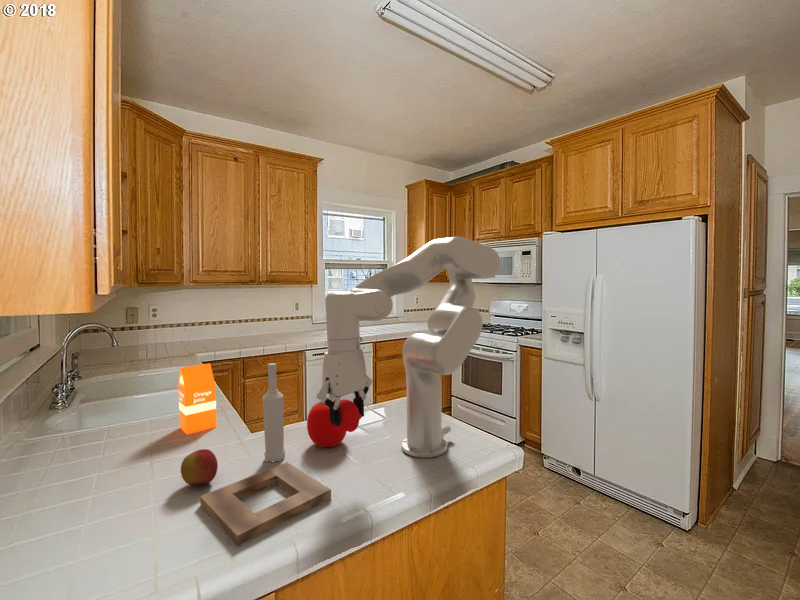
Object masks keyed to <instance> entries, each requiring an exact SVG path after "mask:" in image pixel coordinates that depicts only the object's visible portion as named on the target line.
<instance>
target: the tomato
mask: <svg viewBox="0 0 800 600" xmlns="http://www.w3.org/2000/svg"><path fill="white" fill-rule="evenodd" d="M333 402H334V400H333ZM310 408H311V409H310V410H309V413H308V416H307V420H306V430H307V433H308V434H307V435H308V436H309V439H310V440H311V441H312V443H314V444H315V445H317V446H318V447H323V448H330V447H334V446H337V445H339V444H341V443H342V442H343V441H344V439H345V437H346V435H347V432H348V431H347V430H346V429H345V428H344V426H343V422H341V425H340V426H335V425H334V424H331V422H330V413H329V407H327V406H326V405H325V404H324V403H323V402H322V401H318V402H317V403H315V404H314V405H313V406H312V407H310Z"/></svg>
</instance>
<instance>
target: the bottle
mask: <svg viewBox="0 0 800 600" xmlns="http://www.w3.org/2000/svg"><path fill="white" fill-rule="evenodd" d="M267 373H268V389H267V392H266V393H265V394H264V395H263V396H262V409H263V410H262V412H263V413H262V414H263V426H264V427H263V428H264V449H265V451H264V459H265V461H266V460H267V461H271V462H272V461H279V460H281V459H283V458H284V459H285V457H286V450H285V442H284V441H285V437H284V436H285V433H284V432H285V431H284V429H285V428H284V427H285V426H284V425H285V423H284V420H285V419H284V414H285V413H284V394H282V393H281V392H280V391H279V389H278V388H277V384H278V383H277V363H275V362H274V363H273V362H272V363H271V362H270V363H268V364H267ZM284 459H283V460H284ZM267 461H266V462H267ZM281 461H282V460H281ZM279 462H280V461H279Z"/></svg>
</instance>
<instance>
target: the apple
mask: <svg viewBox="0 0 800 600" xmlns="http://www.w3.org/2000/svg"><path fill="white" fill-rule="evenodd" d="M218 464H219V463H218V458H217V457H216V455H215V453H214V452H213V451H211V450H210V449H207V448H205V449H204V448H203V449H198V450H195V451H193V452H191V453H189V454H188V455H186V456H185V457H184V459H183V460H182V462H181V465H180V475H181V477H182V480H183V481H184V483H185V484H187V485H190V486H199V485H205V484H208V483H210V482H212V481H213V480H214V479H215V477H216V475H217V472H218Z"/></svg>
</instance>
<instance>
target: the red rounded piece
mask: <svg viewBox="0 0 800 600" xmlns="http://www.w3.org/2000/svg"><path fill="white" fill-rule="evenodd" d="M338 408H339V409H340V414H341V422H343V426H344V428H345V429H346V430H347V432H349V433H352V432H355V431H356V430H357V428H358V426H359V423H360V420H361V419H362V418H363V417H362V415H360V414H359V410H358V408H357V406H356V405H355V404H354V403H353V400H352V401H351V400H349V399H346V398H345V399H344V398H343V399H340V402H339V405H338ZM335 426H336V425H335Z"/></svg>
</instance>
